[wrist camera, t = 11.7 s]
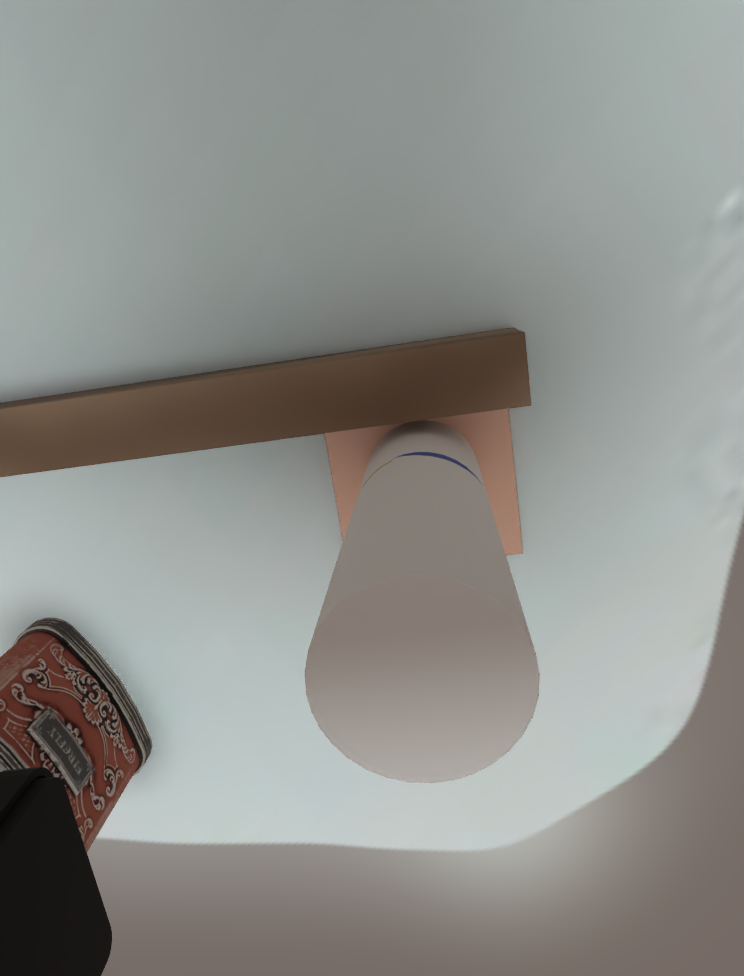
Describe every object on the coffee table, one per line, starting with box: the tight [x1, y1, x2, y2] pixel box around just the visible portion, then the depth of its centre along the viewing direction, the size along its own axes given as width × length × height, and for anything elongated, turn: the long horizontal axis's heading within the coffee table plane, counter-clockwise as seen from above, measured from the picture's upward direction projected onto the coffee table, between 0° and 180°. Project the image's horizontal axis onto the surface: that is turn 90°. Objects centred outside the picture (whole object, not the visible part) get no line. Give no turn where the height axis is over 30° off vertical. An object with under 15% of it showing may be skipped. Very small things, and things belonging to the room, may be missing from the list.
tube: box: [305, 420, 540, 783], centre depth 20 cm, size 4×4×15 cm
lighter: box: [0, 618, 152, 852], centre depth 27 cm, size 8×3×10 cm, turn 29°
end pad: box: [325, 409, 523, 555], centre depth 28 cm, size 6×7×1 cm
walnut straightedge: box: [0, 328, 531, 477], centre depth 26 cm, size 2×24×3 cm, turn 98°
